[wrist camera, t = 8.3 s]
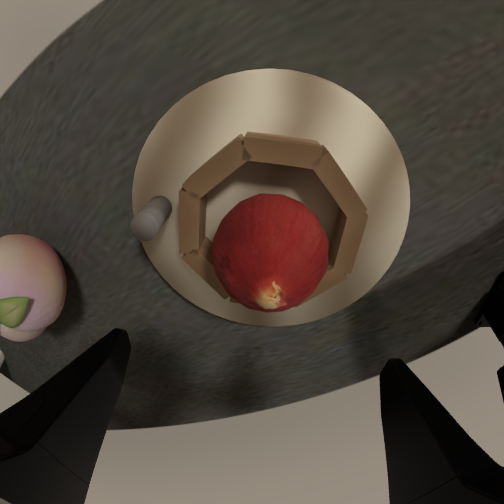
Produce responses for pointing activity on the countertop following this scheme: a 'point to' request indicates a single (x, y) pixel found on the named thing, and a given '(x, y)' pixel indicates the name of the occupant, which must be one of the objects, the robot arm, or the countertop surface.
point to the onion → (270, 252)
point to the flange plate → (271, 184)
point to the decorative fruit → (29, 286)
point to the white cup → (1, 358)
